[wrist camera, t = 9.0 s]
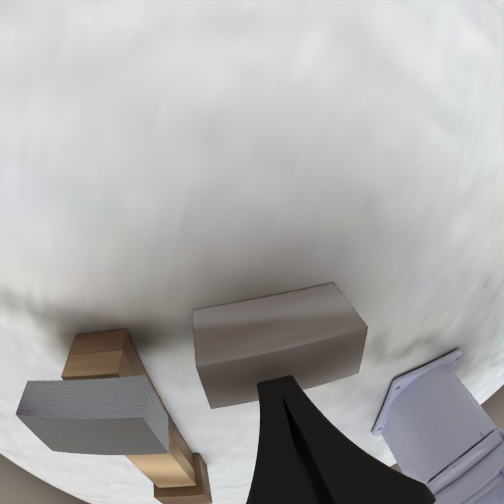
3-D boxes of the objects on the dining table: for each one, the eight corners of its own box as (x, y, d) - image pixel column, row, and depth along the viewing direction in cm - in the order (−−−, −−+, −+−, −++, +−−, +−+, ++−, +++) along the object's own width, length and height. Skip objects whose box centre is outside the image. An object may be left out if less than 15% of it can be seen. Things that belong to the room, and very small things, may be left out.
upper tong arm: (194, 469, 18) (196, 485, 17) (158, 472, 18) (158, 487, 17) (122, 349, 12) (117, 373, 11) (68, 354, 12) (61, 376, 11)
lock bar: (167, 415, 12) (169, 453, 10) (59, 419, 11) (52, 450, 9) (145, 374, 10) (143, 416, 8) (27, 380, 9) (15, 414, 8)
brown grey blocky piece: (316, 442, 23) (329, 477, 19) (164, 469, 21) (166, 506, 17) (333, 282, 15) (372, 332, 11) (64, 328, 13) (41, 385, 9)
